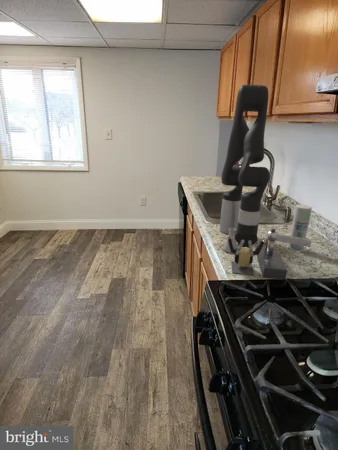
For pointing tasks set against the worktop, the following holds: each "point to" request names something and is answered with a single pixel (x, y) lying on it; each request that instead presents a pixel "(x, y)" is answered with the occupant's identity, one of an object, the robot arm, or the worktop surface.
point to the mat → (242, 269)
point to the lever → (288, 238)
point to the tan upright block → (244, 257)
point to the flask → (226, 245)
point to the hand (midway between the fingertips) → (242, 263)
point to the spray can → (300, 224)
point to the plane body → (271, 262)
